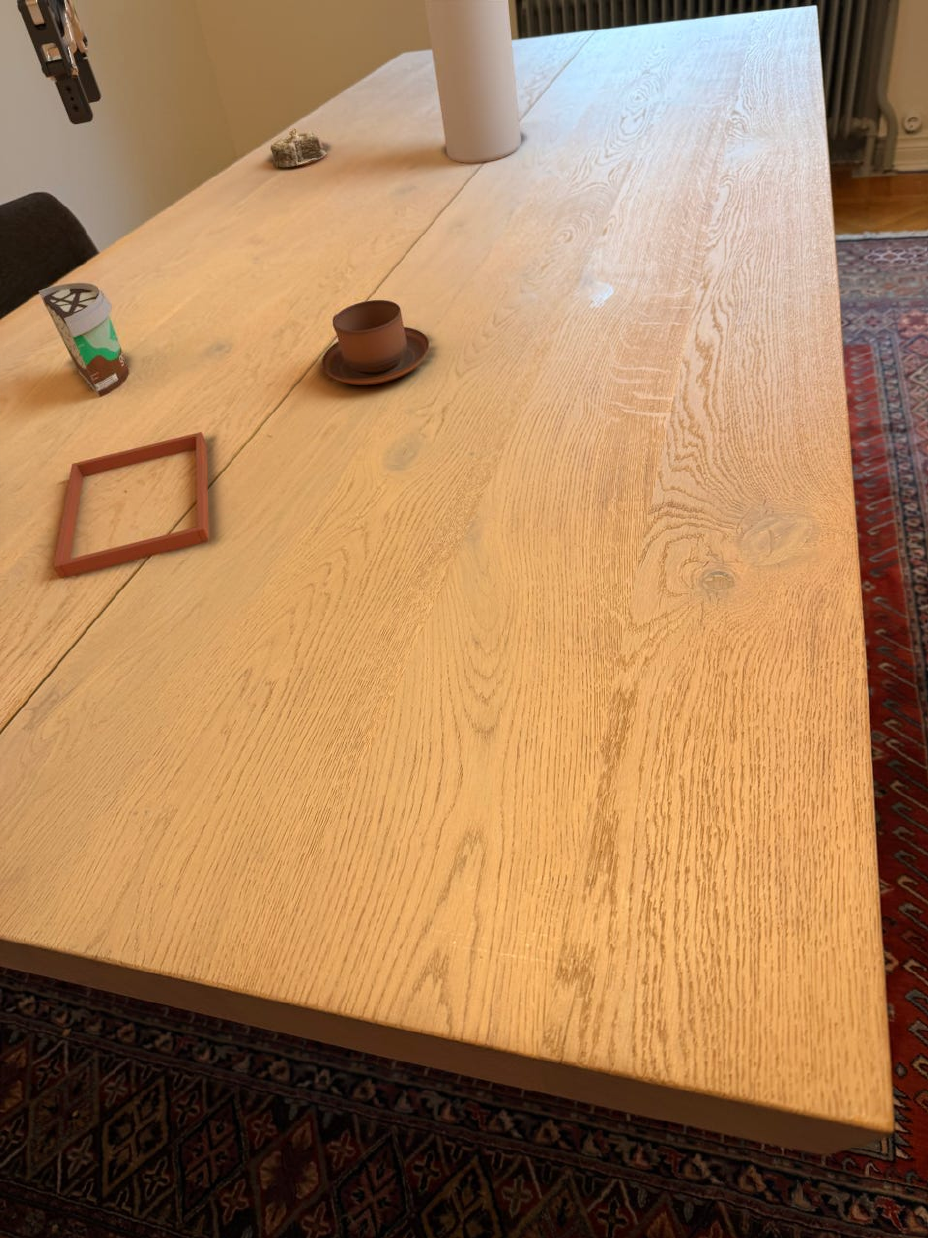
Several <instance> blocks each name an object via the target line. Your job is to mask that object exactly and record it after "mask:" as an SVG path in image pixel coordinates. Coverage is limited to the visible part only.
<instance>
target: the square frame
mask: <svg viewBox="0 0 928 1238" xmlns="http://www.w3.org/2000/svg"><path fill="white" fill-rule="evenodd" d="M193 450H196V451H195V453H196V454H195V455H196V456H195V457H196V461H195V462H196V463H195V464H196V512H197V513H196V521H197V522H196V526H195V527H192V528H190V527H189V528H187V529H182V530H178V531H175V532H171V533H167V534H163V535H158V536H156V537H155V536H154V537H152V538H147V539H143V540H139V541H135V542H132V543H128V544H127V543H126V544H124V545H120V546H115V547H112V548H108V549H104V550H100V551H96V552H92V553H88V554H84V555H81V556H76V557H73V558H71V555H72V554H71V553H72V548H73V542H74V537H75V530H76V525H77V519H78V518H77V517H78V511H79V505H80V499H81V493H82V487H83V486H82V485H83V479H84V477H87V476H92V475H95V474H99V473H100V474H101V473H103V472H107V471H111V470H116V469H119V468H123V467H128V466H132V465H136V464H140V463H144V462H148V461H151V460H152V461H153V460H155V459H161V458H164V457H168V456H173V455H176V454H180V453H184V452H189V451H193ZM207 453H208V452H207V442H206V439H205V436H204V434H203V432H202V431H199V432H196V433H195V432H194V433H191V434H188V435H183V436H179V437H175V438H172V439H168V440H163V441H158V442H155V443H152V444H151V443H150V444H146V445H143V446H139V447H135V448H131V449H125V450H123V451H118V452H114V453H110V454H106V455H102V456H98V457H95V458H94V457H93V458H90V459H86V460H82V461H78V462H74V463H71V468H70V473H69V479H68V484H67V490H66V495H65V501H64V507H63V513H62V517H61V523H60V528H59V534H58V540H57V544H56V551H55V556H54V562H53V569H54V571H55V572H56V574H57V576H58V577H59V579H60V580H62V579H65V578H69V577H74V576H78V575H81V574H86V573H89V572H93V571H97V570H100V569H105V568H109V567H112V566H116V565H120V564H125V563H128V562H132V561H137V560H141V559H145V558H148V557H151V556H155V555H160V554H163V553H167V552H172V551H175V550H178V549H183V548H187V547H191V546H195V545H199V544H203V543H207V542H209V541H210V524H209V522H210V520H209V519H210V518H209V493H208V490H209V489H208V457H207Z"/></svg>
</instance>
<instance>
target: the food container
mask: <svg viewBox="0 0 928 1238" xmlns="http://www.w3.org/2000/svg"><path fill="white" fill-rule="evenodd" d="M38 293H39V295H40V297H41V300H42V302H43V305H44V306H45V308H46V309H47V311H48V313H49V316H50V317H51V319H52V321H53V324H54V325H55V328H56V330H57V332H58V334H59V336H60V338H61V340H62V342H63V344H64V346H65V348H66V350H67V352H68V354H69V356H70V358H71V360H72V362H73V364H74V366H75V369H76V370H77V372H78V371H79V372H78V373H79V374H80V375H81V376H82V378H83V379H84V381H85V382H87V384H88V385H89V384H90V385H89V386H90V387H91V389H93V391H94V392H95V393H96V394H97V396H98V397H99V398H101V397H103V396H105V395H108V394H109V393H112V391H114V390H116V389H117V388H119V387H120V386H122V384H124V382H126V381H127V379H128V377H129V375H130V372H129V371H130V370H129V367H128V364H127V362H126V358H125V356H124V353H123V350H122V348H121V344H120V342H119V339H118V335H117V333H116V330H115V327H114V324H113V322H112V319H111V316H110V314H111V313H112V310H113V305H112V303H111V302H110V300H109V298H107V296H106V294H105V293H104V292H103V290H101V289H100V288H99V287H98V286H97V285H95V284H93V283H90V282H69V283H63V284H57V285H54V286H50V287H47V288H43V289H41V290H38Z"/></svg>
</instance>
